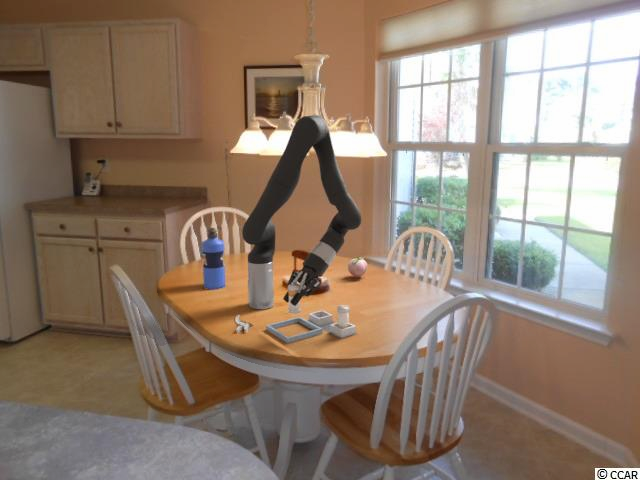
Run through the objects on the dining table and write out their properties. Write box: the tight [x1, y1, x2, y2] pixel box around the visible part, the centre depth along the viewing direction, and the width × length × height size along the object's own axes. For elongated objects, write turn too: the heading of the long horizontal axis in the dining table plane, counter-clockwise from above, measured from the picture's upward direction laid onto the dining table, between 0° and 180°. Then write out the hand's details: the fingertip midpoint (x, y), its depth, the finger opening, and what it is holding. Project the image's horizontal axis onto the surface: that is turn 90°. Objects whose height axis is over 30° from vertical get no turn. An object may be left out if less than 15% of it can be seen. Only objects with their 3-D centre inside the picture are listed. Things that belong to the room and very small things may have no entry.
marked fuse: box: [287, 283, 302, 315], centre depth 152 cm, size 4×4×8 cm
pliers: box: [234, 314, 254, 334], centre depth 163 cm, size 10×2×15 cm
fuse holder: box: [306, 310, 359, 340], centre depth 158 cm, size 19×7×4 cm, turn 36°
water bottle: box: [200, 227, 226, 290], centre depth 203 cm, size 9×9×25 cm
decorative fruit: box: [347, 256, 368, 279], centre depth 217 cm, size 9×8×10 cm
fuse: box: [336, 304, 350, 329], centre depth 153 cm, size 4×4×8 cm
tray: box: [265, 316, 324, 344], centre depth 155 cm, size 13×13×2 cm
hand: (289, 302), depth 151 cm, fingers closed on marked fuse, 3 cm apart
